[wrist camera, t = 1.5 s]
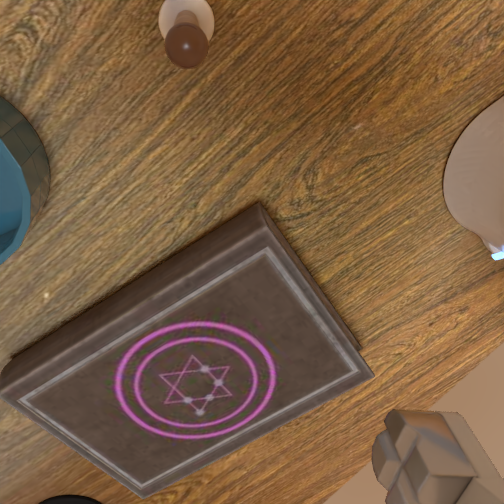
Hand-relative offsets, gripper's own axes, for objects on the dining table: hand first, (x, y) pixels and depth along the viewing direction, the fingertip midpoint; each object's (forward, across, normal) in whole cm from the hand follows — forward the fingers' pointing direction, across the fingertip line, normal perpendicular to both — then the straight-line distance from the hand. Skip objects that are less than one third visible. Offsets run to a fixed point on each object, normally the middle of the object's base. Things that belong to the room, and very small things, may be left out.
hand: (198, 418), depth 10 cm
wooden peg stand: (+33, +1, -5) cm, 33 cm away
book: (+33, -4, +27) cm, 43 cm away
